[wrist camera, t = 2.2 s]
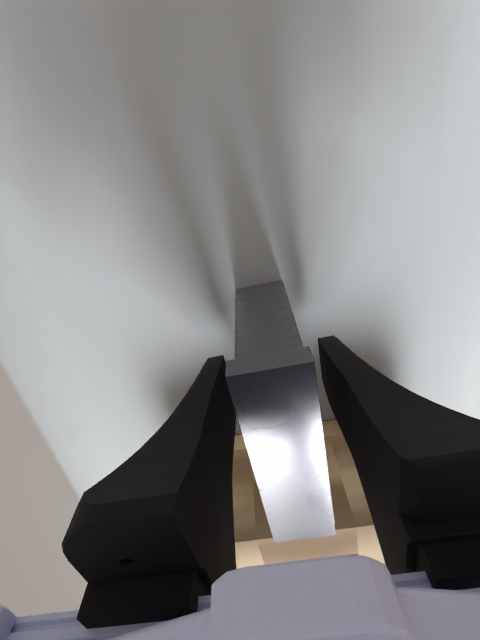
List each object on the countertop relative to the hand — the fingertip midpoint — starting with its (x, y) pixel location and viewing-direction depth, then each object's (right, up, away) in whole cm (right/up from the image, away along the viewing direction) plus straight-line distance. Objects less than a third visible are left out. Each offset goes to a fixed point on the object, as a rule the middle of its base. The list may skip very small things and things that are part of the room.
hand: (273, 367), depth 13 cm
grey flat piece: (0, +1, +2) cm, 2 cm away
